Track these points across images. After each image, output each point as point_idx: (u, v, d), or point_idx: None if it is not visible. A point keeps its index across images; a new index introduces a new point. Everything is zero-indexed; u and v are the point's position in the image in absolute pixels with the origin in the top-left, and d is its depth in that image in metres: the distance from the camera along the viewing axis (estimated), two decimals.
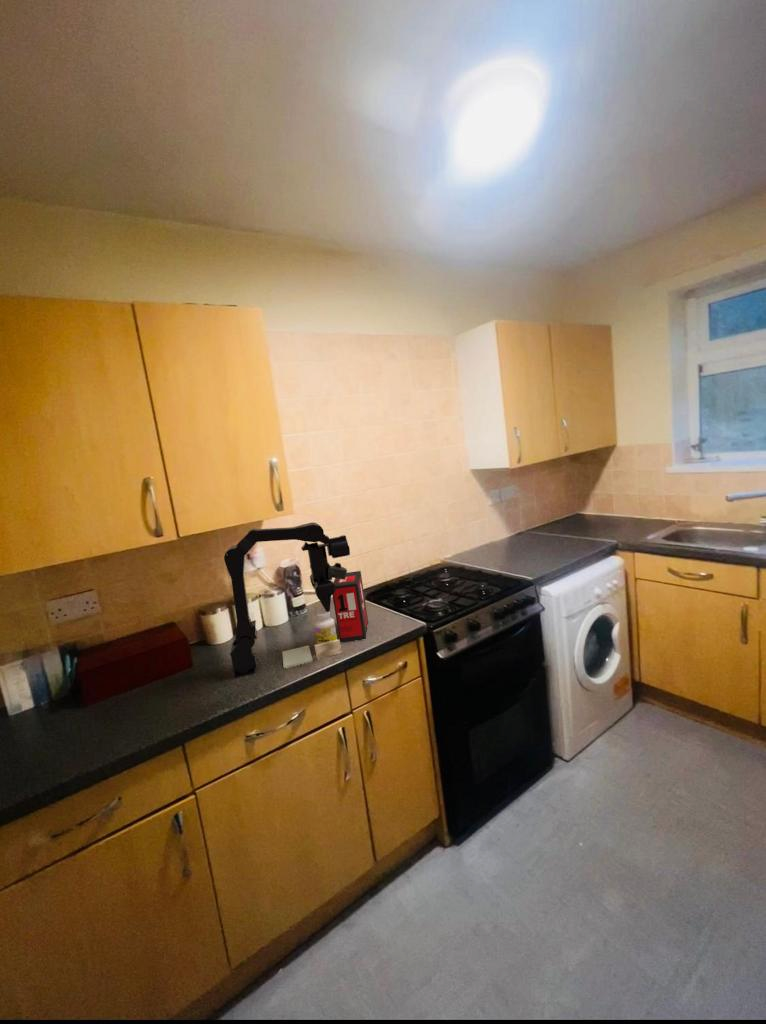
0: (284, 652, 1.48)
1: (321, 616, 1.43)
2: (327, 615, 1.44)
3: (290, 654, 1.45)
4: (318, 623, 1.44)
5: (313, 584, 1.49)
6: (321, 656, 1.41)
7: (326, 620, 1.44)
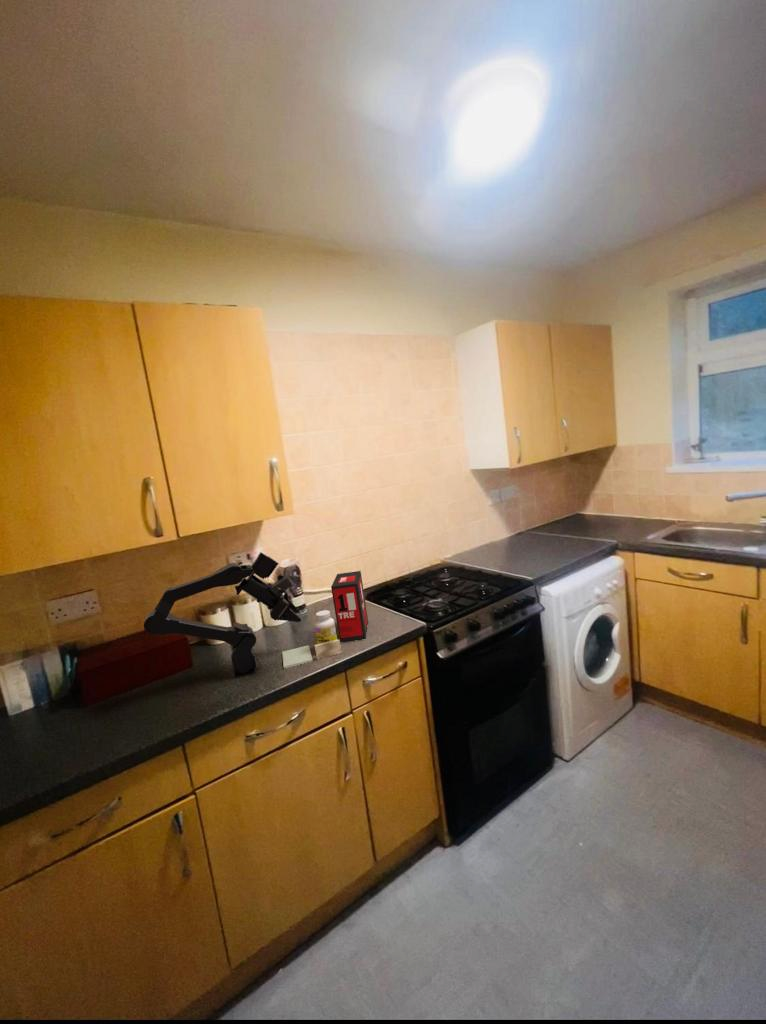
0: (284, 652, 1.48)
1: (321, 616, 1.43)
2: (327, 615, 1.44)
3: (290, 654, 1.45)
4: (318, 623, 1.44)
5: None
6: (321, 656, 1.41)
7: (326, 620, 1.44)
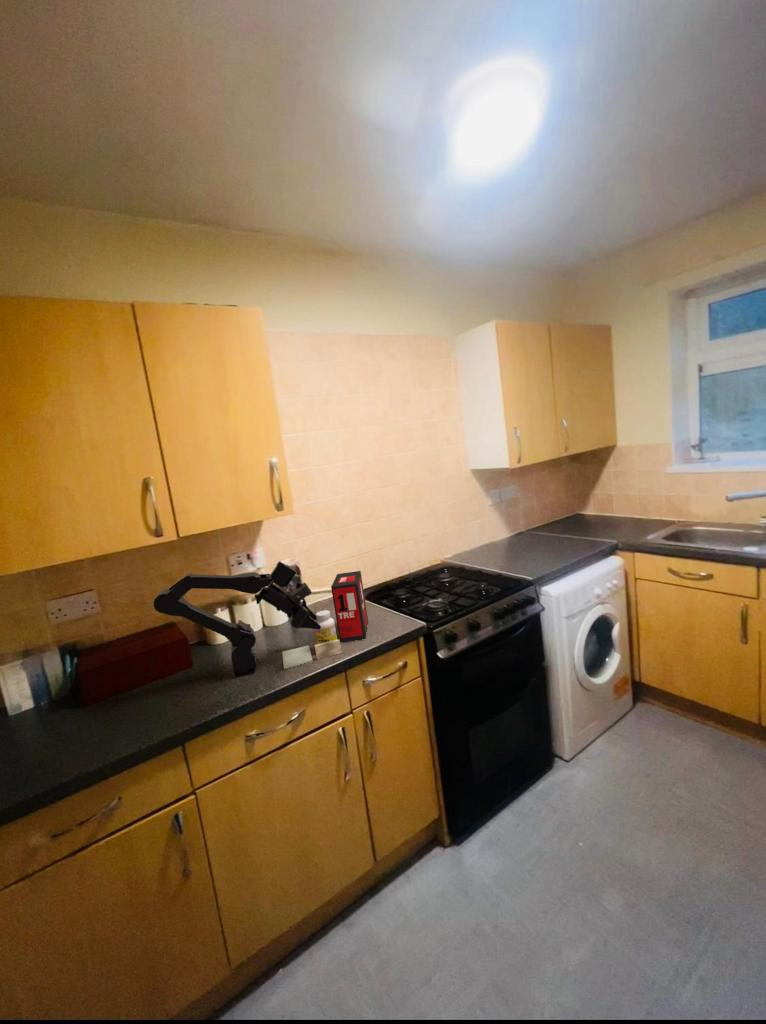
0: (284, 652, 1.48)
1: (321, 616, 1.43)
2: (327, 615, 1.44)
3: (290, 654, 1.45)
4: (318, 623, 1.44)
5: None
6: (321, 656, 1.41)
7: (326, 620, 1.44)
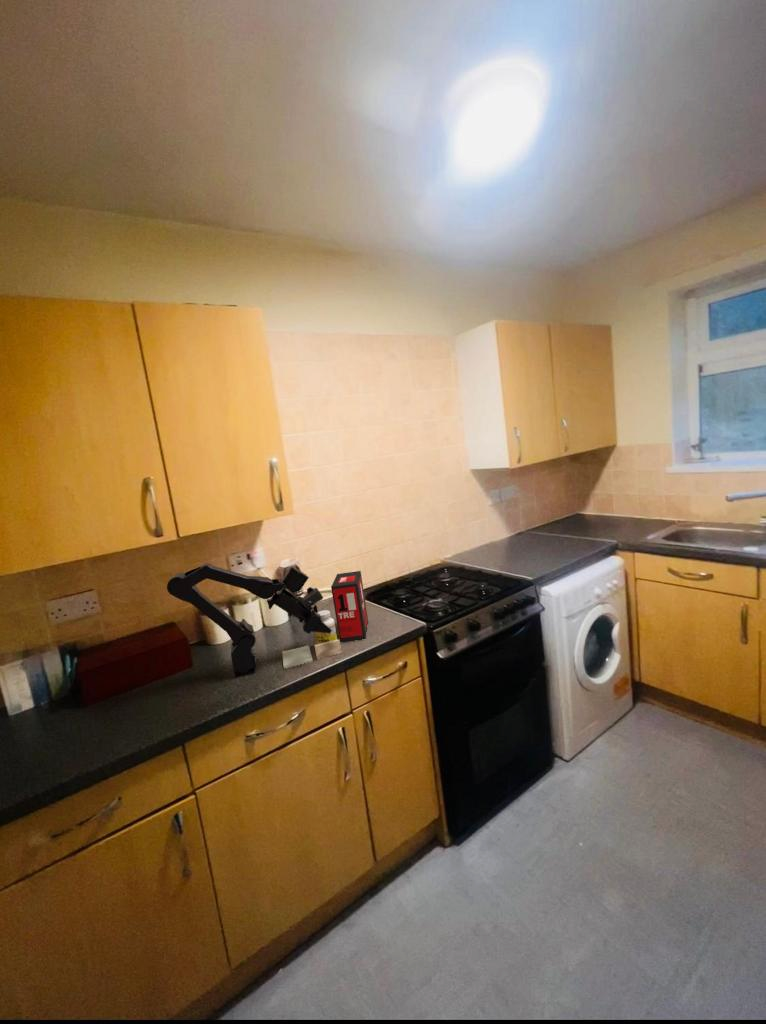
0: (284, 652, 1.48)
1: (321, 616, 1.43)
2: (327, 615, 1.44)
3: (290, 654, 1.45)
4: None
5: None
6: (321, 656, 1.41)
7: (326, 619, 1.44)
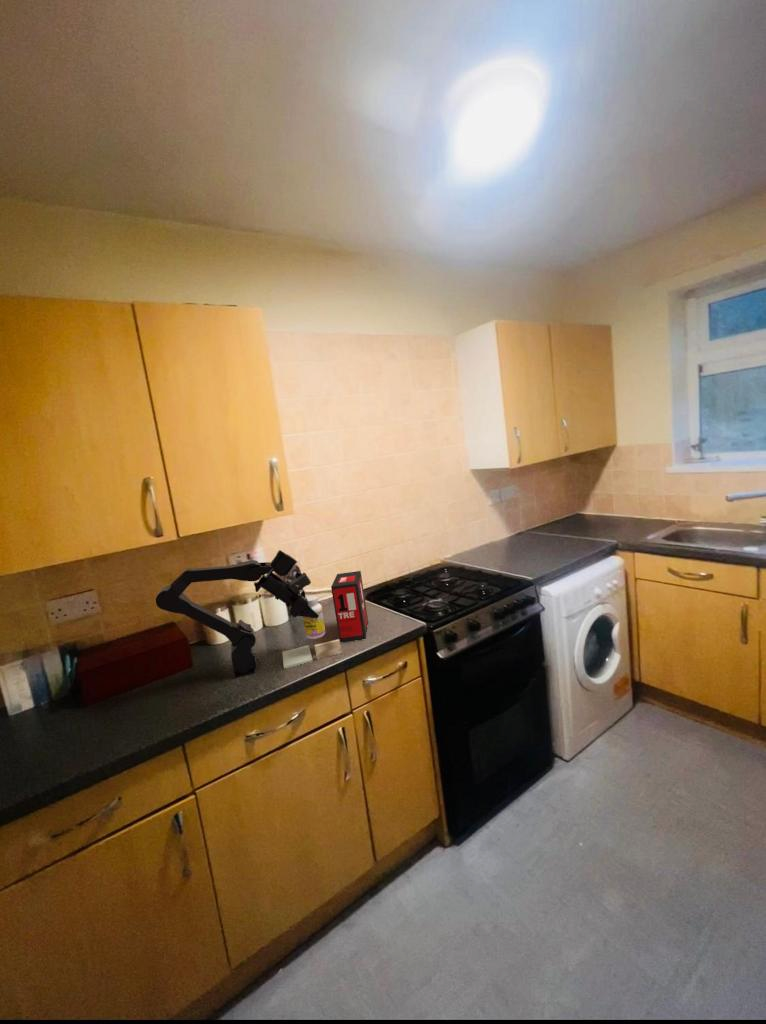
0: (284, 652, 1.48)
1: (309, 601, 1.42)
2: (315, 600, 1.43)
3: (290, 654, 1.45)
4: None
5: None
6: (321, 656, 1.41)
7: (313, 605, 1.42)
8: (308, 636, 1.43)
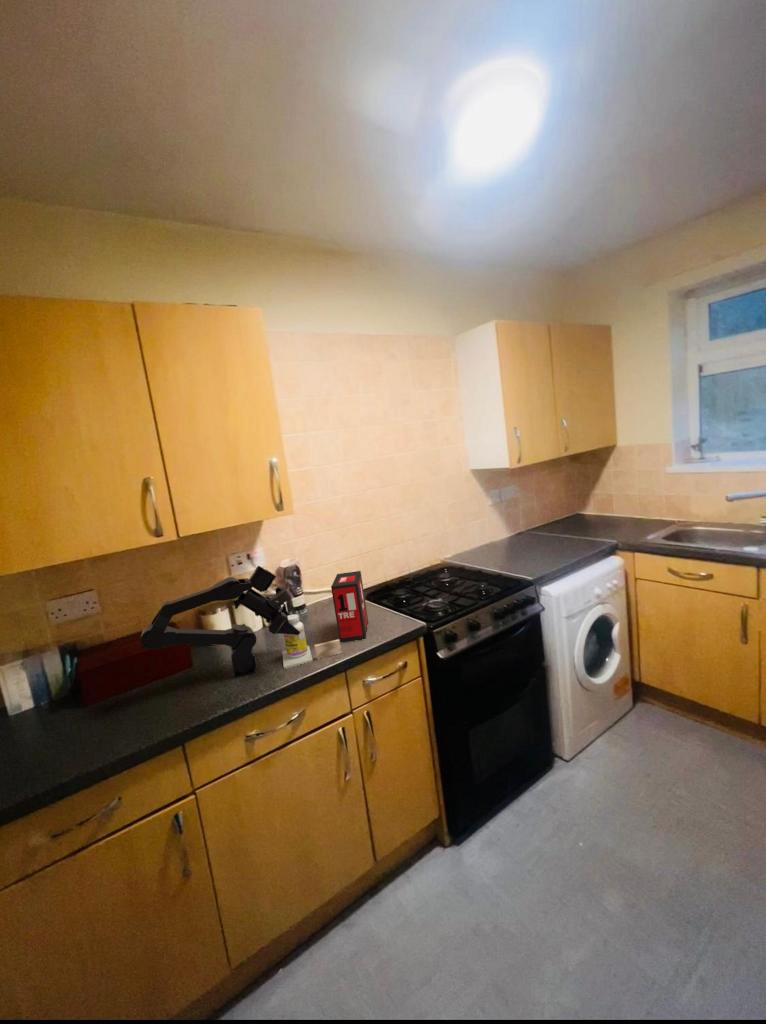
0: (284, 652, 1.48)
1: (289, 620, 1.41)
2: (295, 619, 1.42)
3: None
4: None
5: None
6: (321, 656, 1.41)
7: (294, 624, 1.42)
8: (290, 655, 1.42)
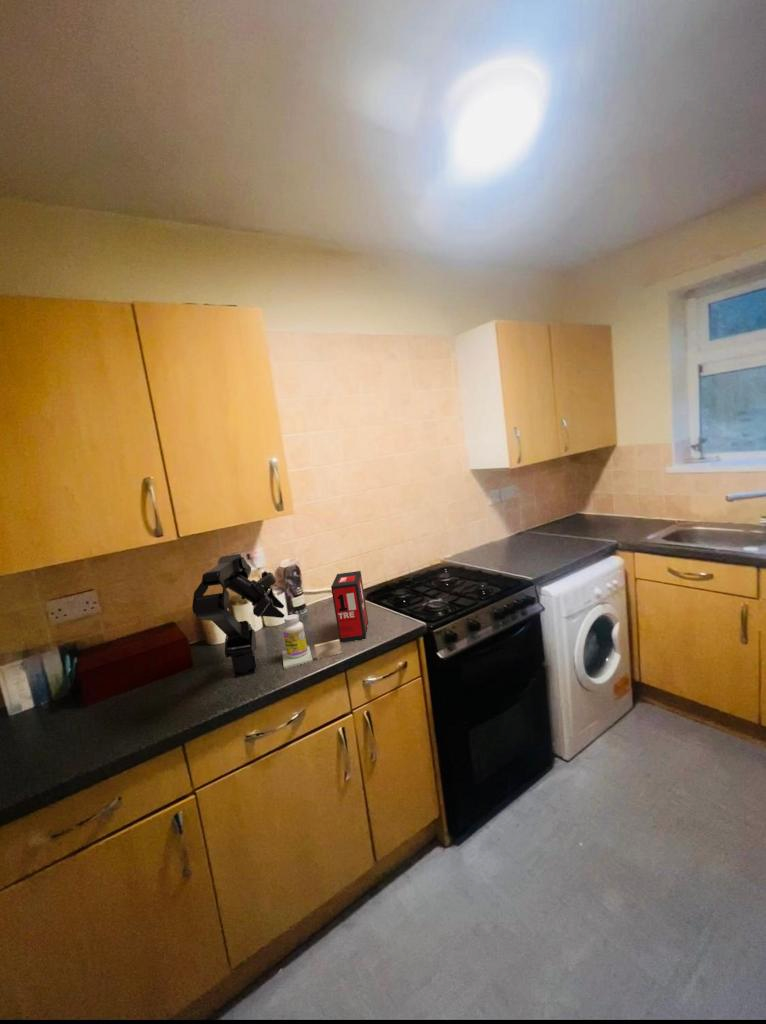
0: (284, 652, 1.48)
1: (289, 620, 1.41)
2: (295, 619, 1.42)
3: None
4: (286, 627, 1.42)
5: None
6: (321, 656, 1.41)
7: (294, 624, 1.42)
8: (290, 655, 1.42)
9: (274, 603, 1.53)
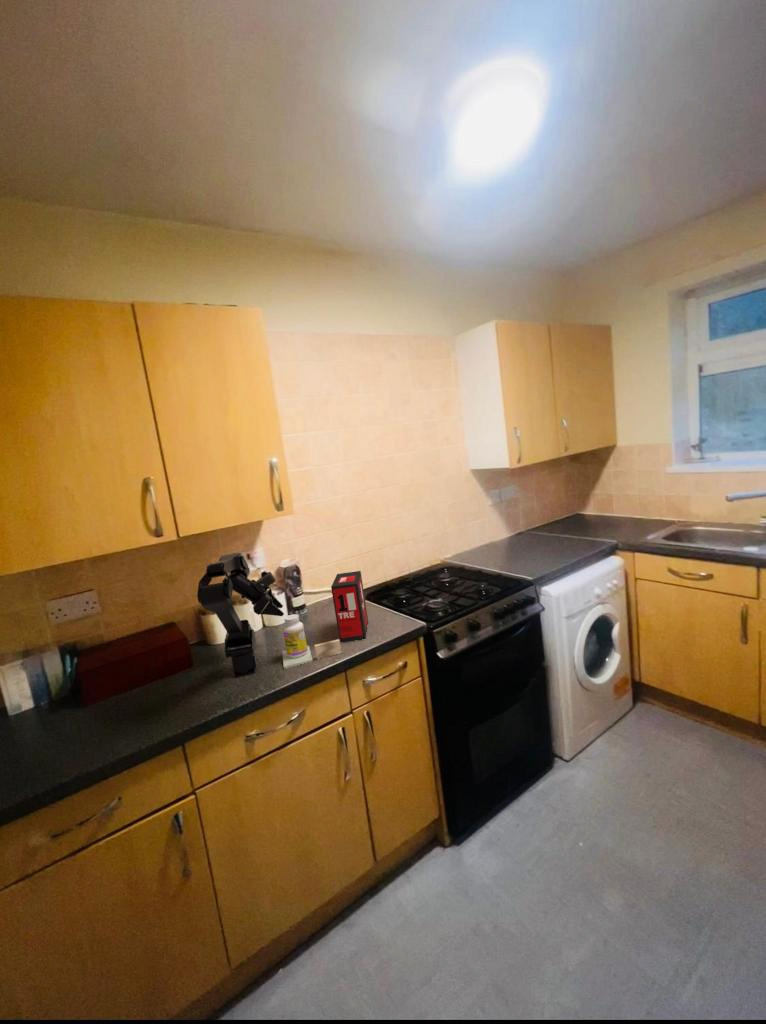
0: (284, 652, 1.48)
1: (289, 620, 1.41)
2: (295, 619, 1.42)
3: None
4: (286, 627, 1.42)
5: None
6: (321, 656, 1.41)
7: (294, 624, 1.42)
8: (290, 655, 1.42)
9: (273, 603, 1.55)
